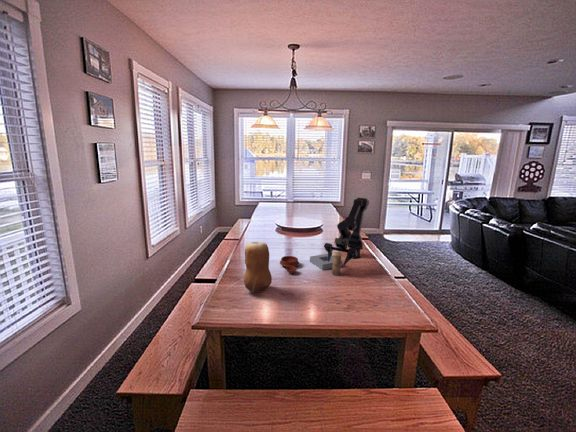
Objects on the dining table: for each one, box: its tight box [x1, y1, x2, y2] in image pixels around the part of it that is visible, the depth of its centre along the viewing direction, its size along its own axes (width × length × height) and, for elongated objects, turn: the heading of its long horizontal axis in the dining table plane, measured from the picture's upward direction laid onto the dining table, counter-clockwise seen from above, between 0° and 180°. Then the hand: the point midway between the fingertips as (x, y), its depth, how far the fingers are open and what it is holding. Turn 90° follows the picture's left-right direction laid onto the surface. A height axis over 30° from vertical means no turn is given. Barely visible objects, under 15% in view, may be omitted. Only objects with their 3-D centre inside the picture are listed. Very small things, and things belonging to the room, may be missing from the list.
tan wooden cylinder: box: [331, 251, 343, 277], centre depth 165 cm, size 5×5×12 cm
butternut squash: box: [243, 241, 273, 293], centre depth 142 cm, size 14×13×25 cm
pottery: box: [279, 255, 300, 275], centre depth 173 cm, size 12×20×4 cm, turn 5°
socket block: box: [309, 253, 343, 271], centre depth 180 cm, size 14×14×4 cm
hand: (336, 263), depth 164 cm, fingers open, 9 cm apart
